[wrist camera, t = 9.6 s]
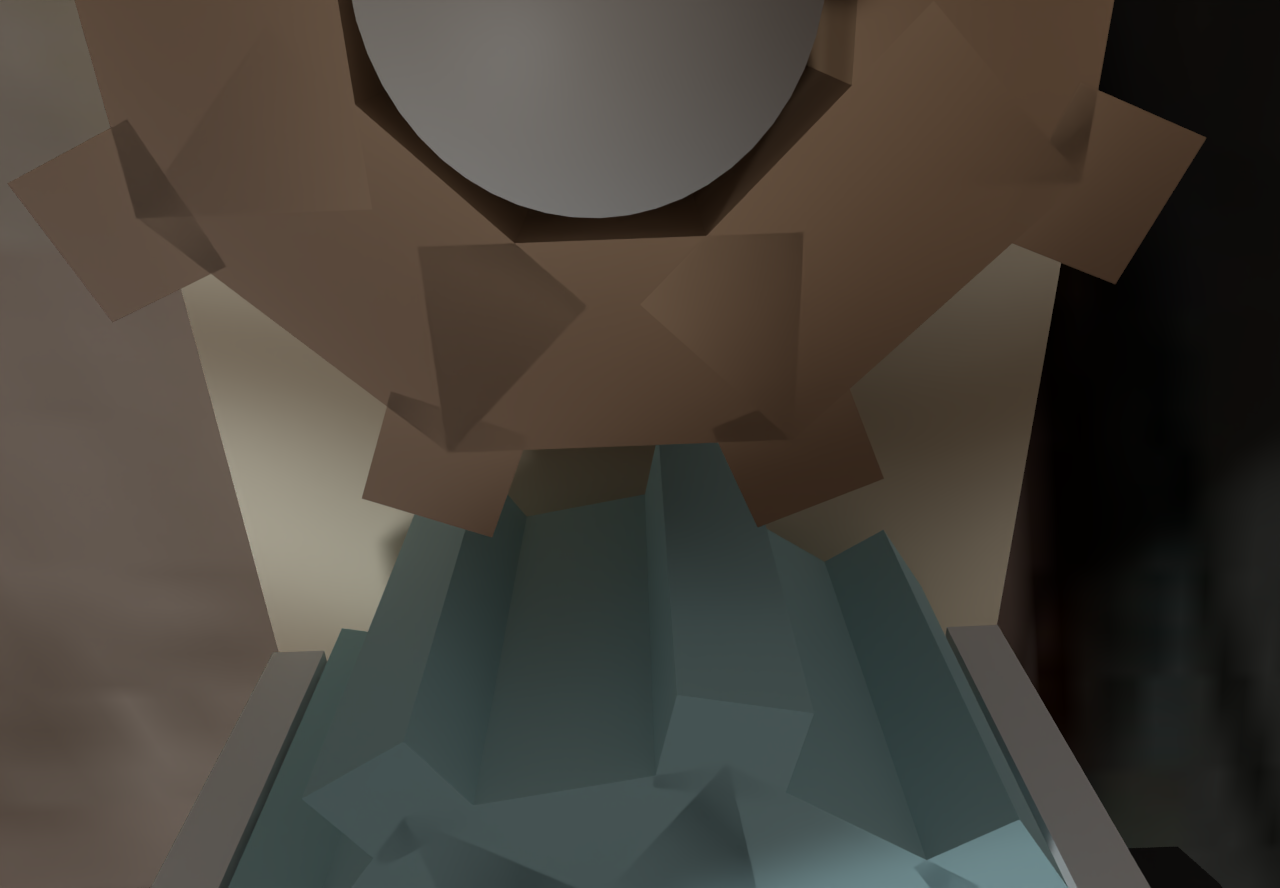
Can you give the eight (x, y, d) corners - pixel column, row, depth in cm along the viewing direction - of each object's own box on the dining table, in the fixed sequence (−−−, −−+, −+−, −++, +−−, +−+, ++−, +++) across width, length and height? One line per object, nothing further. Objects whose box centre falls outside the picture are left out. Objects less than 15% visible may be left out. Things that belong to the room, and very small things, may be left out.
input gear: (448, 923, 17) (383, 1269, 12) (255, 511, 13) (53, 800, 8) (943, 848, 16) (1067, 1186, 11) (904, 385, 12) (1070, 628, 7)
